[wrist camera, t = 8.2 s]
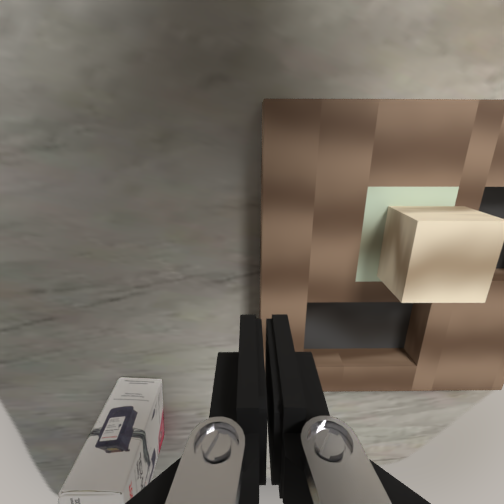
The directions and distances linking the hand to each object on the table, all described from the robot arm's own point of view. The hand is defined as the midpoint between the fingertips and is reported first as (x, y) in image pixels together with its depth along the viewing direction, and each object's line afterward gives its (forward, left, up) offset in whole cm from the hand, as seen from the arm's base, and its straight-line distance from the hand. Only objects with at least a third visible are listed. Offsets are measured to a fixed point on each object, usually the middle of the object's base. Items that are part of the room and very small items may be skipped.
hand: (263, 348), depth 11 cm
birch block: (+1, +13, -15) cm, 20 cm away
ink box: (+21, -12, -18) cm, 31 cm away
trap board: (+3, +13, -18) cm, 22 cm away
